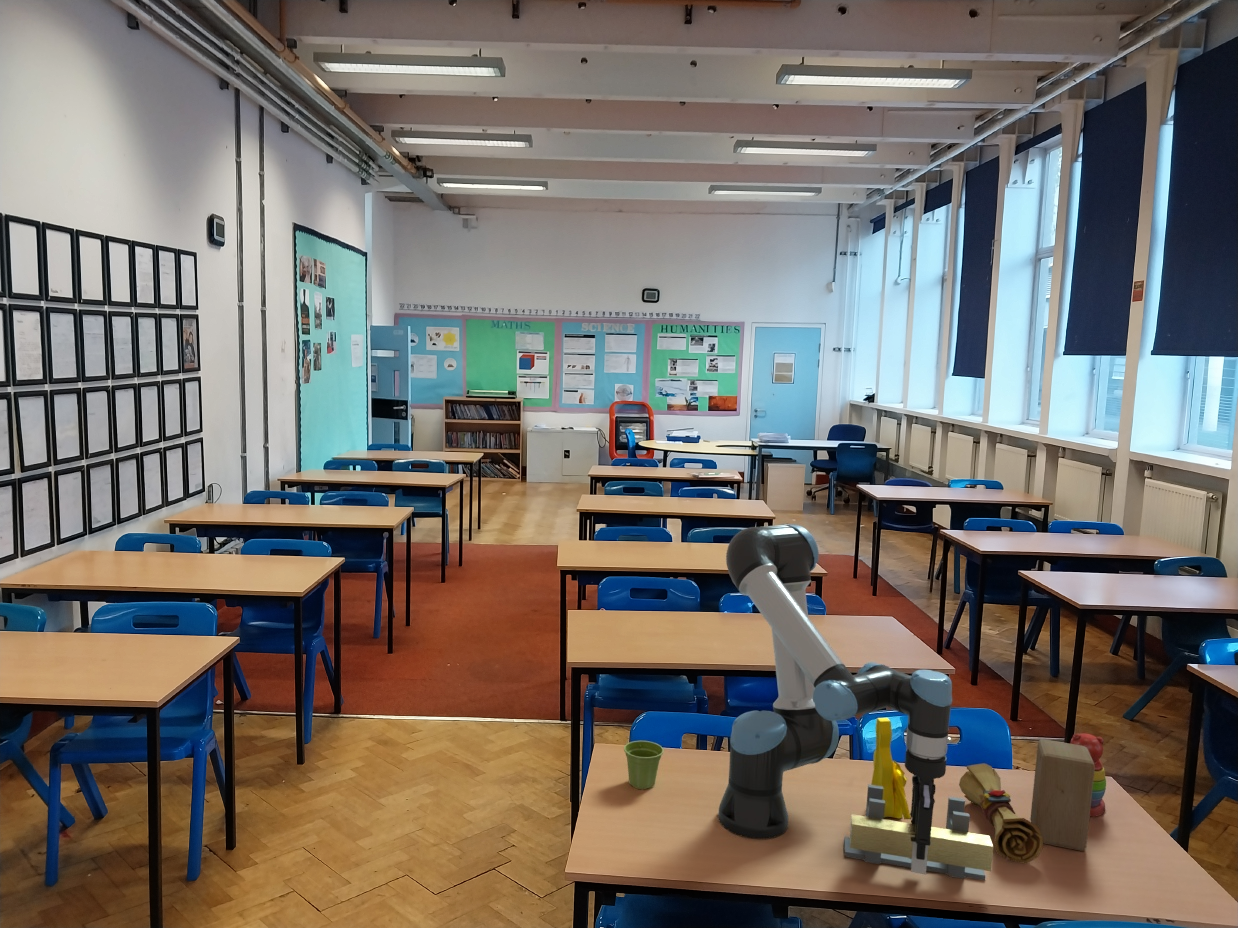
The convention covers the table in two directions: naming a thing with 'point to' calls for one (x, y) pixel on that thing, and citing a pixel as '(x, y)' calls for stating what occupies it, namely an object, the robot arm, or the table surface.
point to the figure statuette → (889, 773)
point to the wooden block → (1062, 793)
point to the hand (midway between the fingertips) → (917, 865)
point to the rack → (876, 810)
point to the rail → (942, 849)
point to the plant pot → (642, 763)
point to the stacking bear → (1099, 774)
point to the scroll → (1001, 814)
